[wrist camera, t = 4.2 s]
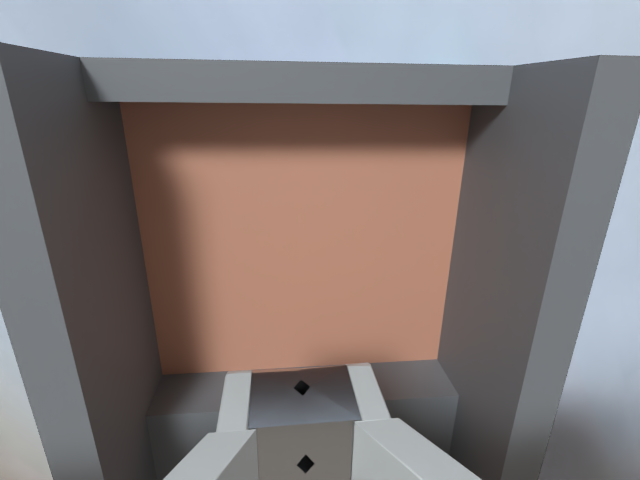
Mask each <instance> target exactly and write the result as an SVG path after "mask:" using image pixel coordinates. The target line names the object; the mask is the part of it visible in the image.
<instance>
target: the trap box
mask: <svg viewBox="0 0 640 480" xmlns="http://www.w3.org/2000/svg"><path fill="white" fill-rule="evenodd" d="M639 114H640V56H616V55H597V56H589V57H581V58H572V59H564V60H556V61H548V62H540V63H532V64H524V65H515V66H503V65H452V64H400V63H348V62H297V61H245V60H194V59H142V58H90V57H75V56H70V55H64V54H59V53H54V52H49V51H43V50H38V49H33V48H27V47H22V46H17V45H11V44H6V43H1V42H0V309H1V312H2V315H3V319H4V322H5V325H6V328H7V332H8V335H9V338H10V341H11V345H12V348H13V351H14V354H15V357H16V361H17V364H18V367H19V370H20V374H21V377H22V380H23V383H24V386H25V390H26V393H27V396H28V399H29V403H30V406H31V409H32V412H33V416H34V419H35V422H36V425H37V428H38V432H39V435H40V438H41V441H42V445H43V448H44V451H45V454H46V457H47V461H48V464H49V467H50V470H51V474H52V477H53V480H163V479H164V478H165V477H166V476H167V475H168V474H169V473H170V472H171V471H172V470H173V469H174V468H175V466H176V465H177V464H178V463H179V462H180V461H181V460H182V459H183V458H184V457H185V456H186V455H187V454H188V453H189V452H190V451H191V450H192V449H193V448H194V447H195V446H196V445H197V444H198V443H199V442H200V441H201V440H202V439H203V438H204V437H205V436H206V435H207V434H208V433H214V432H216V429H217V423H218V417H219V411H220V405H221V399H222V393H223V387H224V381H225V376H226V374H227V372H228V371H241V370H251V371H253V370H259V369H284V368H311V367H325V366H340V365H345V364H355V363H366V362H368V363H369V364H370V365H371V366H372V369H373V372H374V374H375V377H376V379H377V382H378V385H379V387H380V390H381V392H382V395H383V398H384V400H385V403H386V406H387V408H388V411H389V413H390V416H391V418H399V419H401V420H402V421H404V422H405V423H406V424H408V425H409V426H410V427H412V428H413V429H414V430H416V431H417V432H418V433H420V434H421V435H422V436H424V437H425V438H426V439H428V440H429V441H430V442H432V443H433V444H435V445H436V446H437V447H439V448H440V449H441V450H443V451H444V452H445V453H447V454H448V455H449V456H451V457H452V458H453V459H455V460H456V461H457V462H459V463H460V464H461V465H463V466H464V467H466V468H467V469H468V470H470V471H471V472H472V473H474V474H475V475H476V476H478V477H479V478H480V479H482V480H538V477H539V473H540V469H541V466H542V462H543V459H544V455H545V452H546V448H547V444H548V441H549V437H550V434H551V430H552V426H553V423H554V419H555V416H556V412H557V408H558V405H559V401H560V398H561V394H562V391H563V387H564V383H565V380H566V376H567V373H568V369H569V365H570V362H571V358H572V355H573V351H574V348H575V344H576V340H577V337H578V333H579V330H580V326H581V322H582V319H583V315H584V312H585V308H586V305H587V301H588V297H589V294H590V290H591V287H592V283H593V279H594V276H595V272H596V269H597V265H598V261H599V258H600V254H601V251H602V247H603V244H604V240H605V236H606V233H607V229H608V226H609V222H610V218H611V215H612V211H613V208H614V204H615V201H616V197H617V193H618V190H619V186H620V183H621V179H622V175H623V172H624V168H625V165H626V161H627V157H628V154H629V150H630V147H631V143H632V140H633V136H634V132H635V129H636V125H637V122H638V118H639Z"/></svg>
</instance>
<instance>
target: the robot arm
mask: <svg viewBox="0 0 640 480" xmlns="http://www.w3.org/2000/svg"><path fill="white" fill-rule="evenodd" d="M163 480H482V479H480V478H479V477H478V476H476V475H475V474H474V473H472V472H471V471H470V470H468V469H467V468H466V467H464V466H463V465H461V464H460V463H459V462H457V461H456V460H455V459H453V458H452V457H451V456H449V455H448V454H447V453H445V452H444V451H443V450H441V449H440V448H439V447H437V446H436V445H435V444H433V443H432V442H430V441H429V440H428V439H426V438H425V437H424V436H422V435H421V434H420V433H418V432H417V431H416V430H414V429H413V428H412V427H410V426H409V425H408V424H406V423H405V422H404V421H402V420H401V419H399V418H391V416H390V413H389V411H388V408H387V406H386V403H385V400H384V398H383V395H382V392H381V390H380V387H379V385H378V382H377V379H376V377H375V374H374V372H373V369H372V366H371V365H370V364H369V363H368V362H366V363H355V364H345V365H340V366H325V367H311V368H284V369H259V370H253V371H251V370H241V371H228V372H227V374H226V376H225V381H224V387H223V393H222V399H221V405H220V411H219V417H218V423H217V429H216V432H214V433H208V434H207V435H206V436H205V437H204V438H203V439H202V440H201V441H200V442H199V443H198V444H197V445H196V446H195V447H194V448H193V449H192V450H191V451H190V452H189V453H188V454H187V455H186V456H185V457H184V458H183V459H182V460H181V461H180V462H179V463H178V464H177V465H176V466H175V468H174V469H173V470H172V471H171V472H170V473H169V474H168V475H167V476H166V477H165V478H164V479H163Z"/></svg>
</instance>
